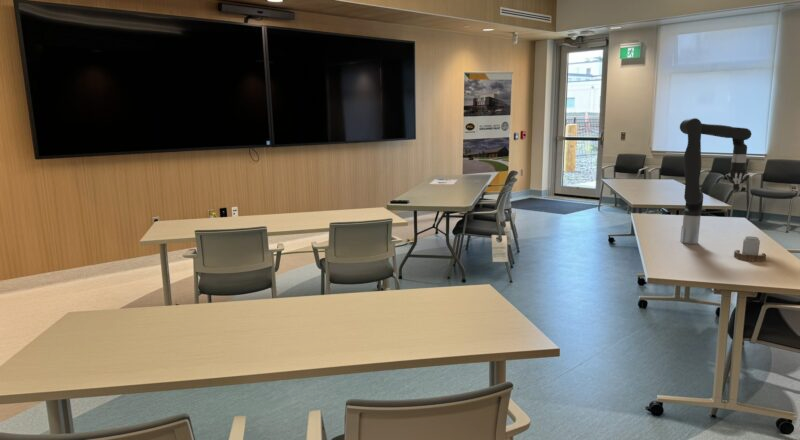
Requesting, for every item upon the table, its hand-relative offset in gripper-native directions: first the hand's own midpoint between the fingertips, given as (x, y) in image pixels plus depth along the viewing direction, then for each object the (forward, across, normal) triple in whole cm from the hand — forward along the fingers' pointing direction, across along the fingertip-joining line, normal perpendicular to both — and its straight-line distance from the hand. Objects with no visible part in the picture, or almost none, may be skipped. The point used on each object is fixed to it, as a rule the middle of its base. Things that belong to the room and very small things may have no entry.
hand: (735, 190), depth 332 cm
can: (+32, -3, -45) cm, 55 cm away
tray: (+32, -2, -44) cm, 54 cm away
